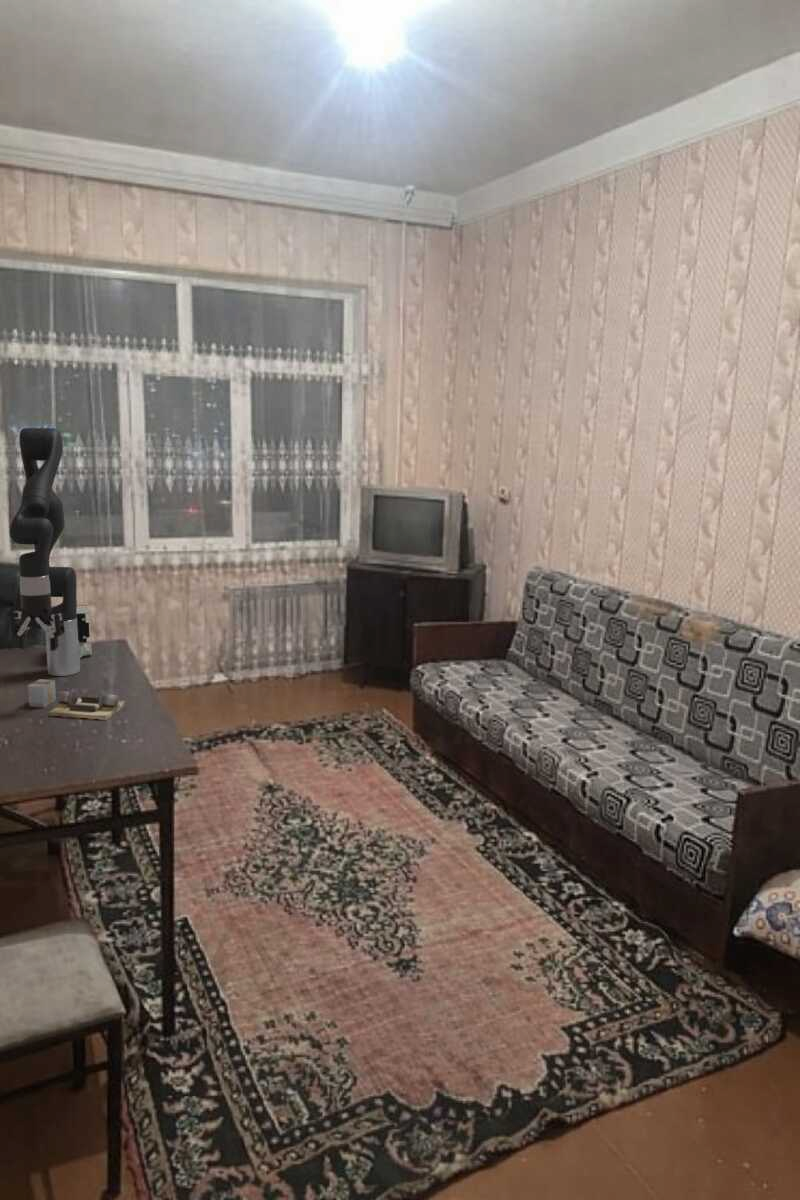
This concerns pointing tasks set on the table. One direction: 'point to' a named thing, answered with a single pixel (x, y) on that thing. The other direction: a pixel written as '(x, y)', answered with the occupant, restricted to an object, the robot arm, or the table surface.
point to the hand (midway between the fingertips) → (39, 649)
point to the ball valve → (83, 629)
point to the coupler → (41, 693)
